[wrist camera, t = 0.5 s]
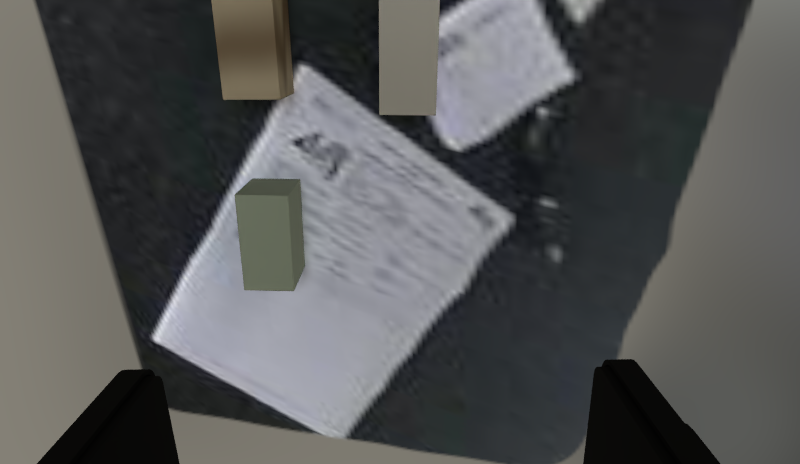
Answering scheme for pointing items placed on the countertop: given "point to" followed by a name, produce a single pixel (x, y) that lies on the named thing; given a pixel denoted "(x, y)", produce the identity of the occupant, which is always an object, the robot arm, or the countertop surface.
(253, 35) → the beech brick
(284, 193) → the sage brick
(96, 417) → the robot arm
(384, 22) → the offwhite brick
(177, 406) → the countertop surface
